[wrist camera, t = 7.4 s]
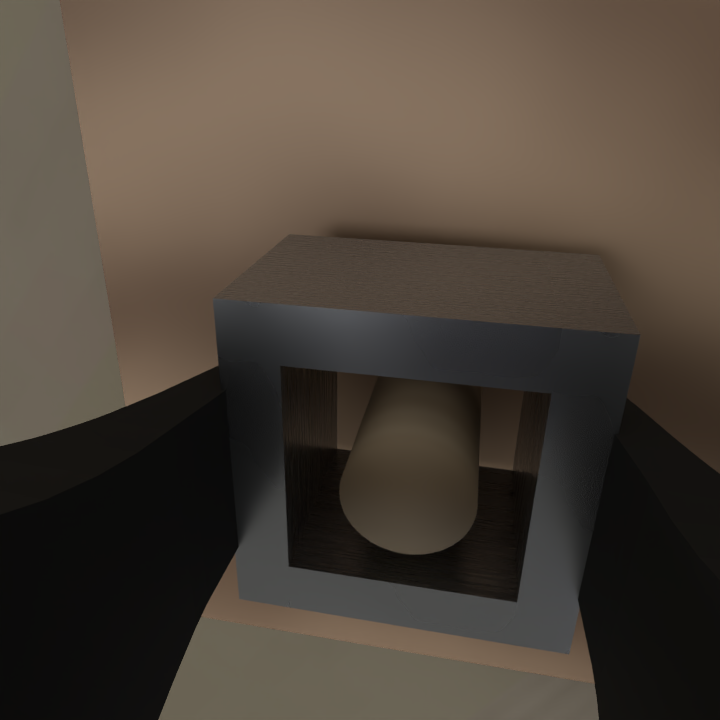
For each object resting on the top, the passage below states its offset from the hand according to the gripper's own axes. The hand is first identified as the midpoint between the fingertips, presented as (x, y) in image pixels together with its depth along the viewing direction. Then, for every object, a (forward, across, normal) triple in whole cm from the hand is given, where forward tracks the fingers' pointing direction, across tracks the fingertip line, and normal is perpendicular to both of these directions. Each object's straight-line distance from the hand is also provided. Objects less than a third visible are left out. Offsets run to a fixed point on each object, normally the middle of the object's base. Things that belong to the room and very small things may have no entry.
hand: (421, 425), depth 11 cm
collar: (+2, 0, 0) cm, 2 cm away
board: (+4, 0, 0) cm, 4 cm away
